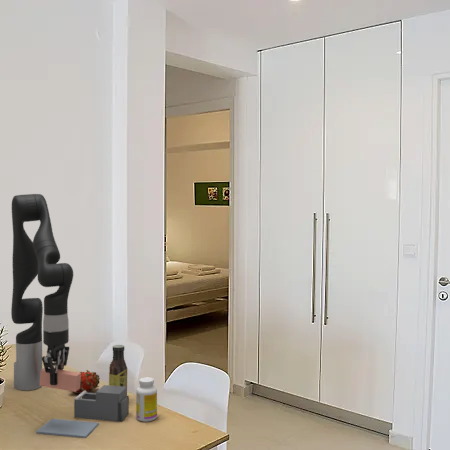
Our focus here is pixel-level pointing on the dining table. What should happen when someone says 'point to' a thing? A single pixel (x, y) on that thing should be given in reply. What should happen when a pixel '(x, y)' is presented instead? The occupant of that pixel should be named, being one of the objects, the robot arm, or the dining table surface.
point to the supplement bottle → (146, 400)
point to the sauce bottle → (118, 367)
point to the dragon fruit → (88, 381)
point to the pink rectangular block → (62, 380)
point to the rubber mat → (67, 428)
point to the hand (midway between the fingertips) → (56, 382)
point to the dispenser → (103, 404)
